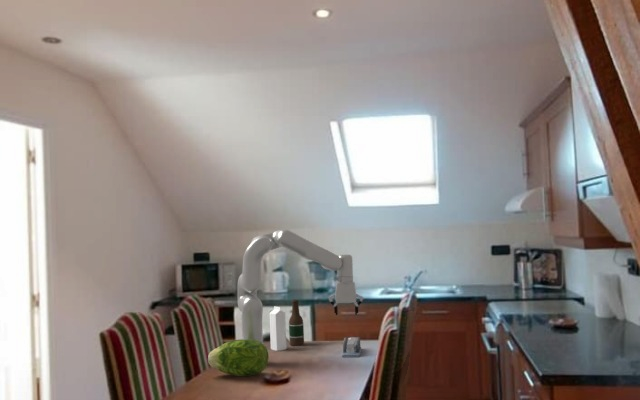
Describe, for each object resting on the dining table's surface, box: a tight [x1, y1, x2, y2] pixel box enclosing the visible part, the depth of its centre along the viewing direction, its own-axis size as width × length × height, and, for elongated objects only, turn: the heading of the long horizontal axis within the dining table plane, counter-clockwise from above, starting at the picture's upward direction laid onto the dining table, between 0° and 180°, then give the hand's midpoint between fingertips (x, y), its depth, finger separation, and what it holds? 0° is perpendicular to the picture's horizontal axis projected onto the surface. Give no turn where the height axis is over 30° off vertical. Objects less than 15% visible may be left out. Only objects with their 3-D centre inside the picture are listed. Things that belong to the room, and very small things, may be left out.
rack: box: [342, 336, 362, 358], centre depth 288 cm, size 18×8×7 cm, turn 173°
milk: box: [269, 306, 288, 352], centre depth 305 cm, size 6×6×22 cm
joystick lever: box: [347, 336, 357, 354], centre depth 290 cm, size 17×5×4 cm, turn 173°
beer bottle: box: [288, 299, 305, 347], centre depth 315 cm, size 8×8×24 cm
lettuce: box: [207, 338, 269, 377], centre depth 252 cm, size 15×27×16 cm, turn 81°
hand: (346, 314), depth 289 cm, fingers open, 9 cm apart
